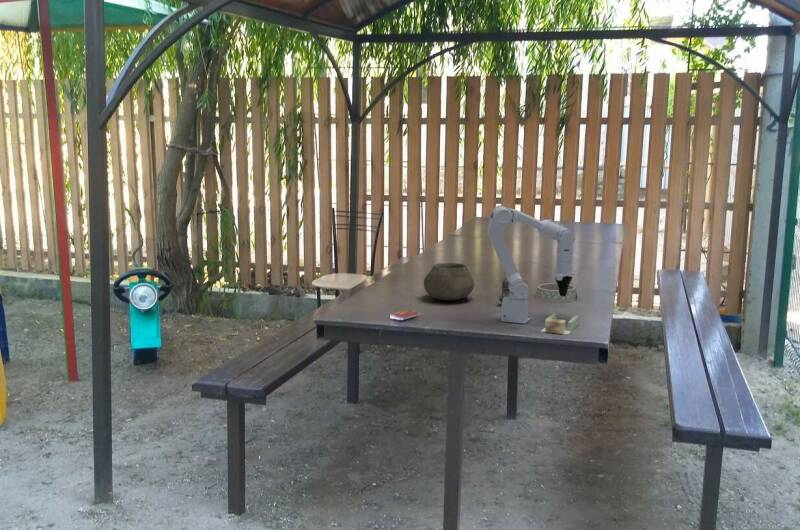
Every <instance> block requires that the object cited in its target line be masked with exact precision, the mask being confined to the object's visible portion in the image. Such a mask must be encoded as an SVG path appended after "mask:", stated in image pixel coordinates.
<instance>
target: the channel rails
mask: <svg viewBox="0 0 800 530" xmlns="http://www.w3.org/2000/svg"><path fill="white" fill-rule="evenodd" d="M557 315H558V314H557V313H552V314H550V315H549V316H548V317H547V318H546V319H545V320H544V328H546V321H547V320H548V319H549V318H551V319H558V316H557ZM579 324H580V316H579V315H574V316H573V317H572V318H570V320H569V321H567V329H566V330H567V331H571V332H572V331H573V330H575V328H576V327H577V326H578V325H579Z"/></svg>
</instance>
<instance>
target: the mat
mask: <svg viewBox="0 0 800 530" xmlns="http://www.w3.org/2000/svg"><path fill="white" fill-rule="evenodd" d="M545 329H546V328H545V327H544V328H542V330H540V332H542V333H543V332H544V333H546V332H545ZM571 332H572V331H568V330H567V329H565V332H564V333H563V334H562V335H569V334H570V333H571Z"/></svg>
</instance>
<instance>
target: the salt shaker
mask: <svg viewBox="0 0 800 530" xmlns="http://www.w3.org/2000/svg"><path fill="white" fill-rule="evenodd" d="M501 285H502V286H501V291H502V292H501V294H500V295H499V296H498V298H499V302H500V304H498V305H500V306H499V307H501V306H502V300H503V298H504V297H509V294H510V293H511V292H510V290H509V288H508V280H507V277H506V276H505V278H504V279H503V280H502V283H501Z"/></svg>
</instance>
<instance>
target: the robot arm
mask: <svg viewBox="0 0 800 530" xmlns="http://www.w3.org/2000/svg"><path fill="white" fill-rule="evenodd" d="M488 221H489V222H488V228H487V236H488V239H490V240H489V241H490V242H491V245H492V247H493V249H494V252H495V253H496V256H497V259H498V260H499V261H498V262H499V263H500V265H501V267H502V269H503V271H504V273H505V278H506V277H507V280H508V288H509V290H510V294H509V297H504V298H503V300H502V307H501V319H500V321H501V322H507V323H515V324H526V323H528V322H529V321H530V320H531V319H532V318H531V317H528V315H529V314H528V313H529V311H528V310H529V293H530V288H529V286H528V284H527V283H525V282H524V280H523V277H521V274H520V272H519V270H518V268H517V266H516V264H515V261H514V259H513V257H512V255H511V252H510V251H509V247H508V245H507V244H506V241H505V238H504V237H503V233H504V231H505V229H506V227H508V225H509V224H510V223H514V224H515V223H518V222H521V223H523V224H525V225H527V226H530V227H532V228H535V229H537V230H538V233H539V235H542V236H544V237H547V238H549V239H551V240H554V241H557V248H556V264H555V265H556V267H555V268H556V269H555V270H556V271H555V275H556V276H555V278H554V279H555V283H557V285H558V288H559V294H560V296H566V295H567V291H568V287H569V284H570V285H571V281H572V280H573V276H574V275H575V274H576V272H574V271H573V252H574V251H573V243H574V242H575V240H576V237H575V234H574V231H573V230H571V229H569V228H567V227H565V226H564V225H563V224H560V225H559V224H558V223H555V222H554V220H553V219H550V218H549V219H543V220H539V219H538V218H535V217H534V216H531V215H528V214H527V213H525V212H522V211H520V210H518V209H513V208H511V207H506V206H504V205H500V204H499V205H496V206H495V207H494V208H493V209H492V210H491V212H490V214H489V219H488Z"/></svg>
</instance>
